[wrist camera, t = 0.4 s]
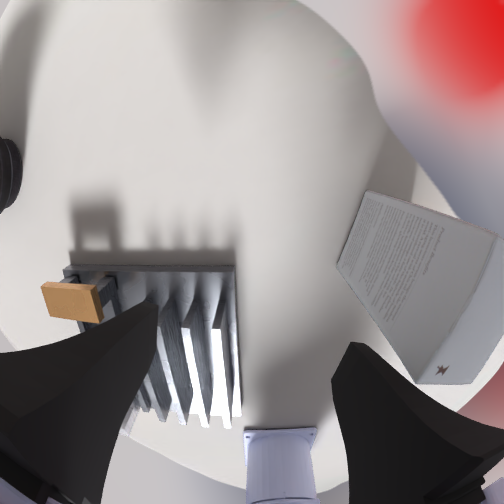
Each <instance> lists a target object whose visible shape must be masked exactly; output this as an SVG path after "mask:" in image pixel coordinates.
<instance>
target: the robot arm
mask: <svg viewBox="0 0 504 504" xmlns="http://www.w3.org/2000/svg"><path fill="white" fill-rule="evenodd" d="M158 310H159V305H156V304H152V303H148V302H144V301H143V302H141V303H139V304H137V305H135V306H133V307H131V308H130V309H128V310H126V311H124V312H122V313H121V314H119V315H117V316H115V317H113V318H111V319H109V320H108V321H106V322H104V323H102V324H100V325H97V326H95V327H93V328H91V329H89V330H87V331H85V332H83V333H80V334H78V335H75V336H73V337H70V338H67V339H64V340H62V341H59V342H56V343H52V344H48V345H44V346H40V347H36V348H32V349H27V350H22V351H15V352H7V353H0V504H101V498H102V493H103V487H104V483H105V479H106V475H107V471H108V467H109V463H110V459H111V456H112V453H113V449H114V446H115V443H116V440H117V437H118V434H119V431H120V428H121V425H122V423H123V420H124V418H125V416H126V414H127V412H128V410H129V408H130V406H131V404H132V402H133V400H134V398H135V396H136V394H137V392H138V390H139V388H140V386H141V384H142V382H143V381H144V379H145V377H146V375H147V373H148V371H149V368H150V366H151V363H152V360H153V357H154V355H155V352H156V349H157V327H158ZM331 383H332V394H333V401H334V405H335V409H336V413H337V417H338V421H339V425H340V429H341V433H342V436H343V440H344V444H345V449H346V454H347V463H348V473H349V504H504V478H503V477H501V478H500V479H498V480H497V481H495V482H494V483H492V484H491V485H489V486H488V487H486V488H485V489H484V490H482V488H481V485H483V484H484V483H485V479H484V478H483V476H484V475H485V474H486V473H487V472H488V471H489V470H491V469H492V468H493V467H494V466H495V465H496V464H497V463H498V462H499V461H501V459H503V457H504V429H500V428H496V427H492V426H488V425H485V424H481V423H479V422H476V421H474V420H471V419H469V418H467V417H464V416H462V415H460V414H458V413H456V412H454V411H452V410H450V409H448V408H447V407H445V406H443V405H441V404H440V403H438V402H437V401H435V400H434V399H432V398H431V397H429V396H428V395H426V394H425V393H423V392H422V391H421V390H420V389H418V388H417V387H416V386H414V385H413V384H412V383H411V382H409V381H408V380H407V379H406V378H405V377H403V376H402V375H401V374H400V373H399V372H398V371H396V370H395V369H394V368H393V367H392V366H391V365H390V364H389V363H387V362H386V361H385V360H384V359H383V358H382V357H381V356H379V355H378V354H377V353H376V352H375V351H374V350H372V349H371V348H370V347H369V346H367V345H366V344H364V343H357V342H350V344H349V346H348V348H347V350H346V352H345V354H344V356H343V358H342V360H341V362H340V364H339V366H338V368H337V370H336V372H335V373H334V375H333V377H332V379H331ZM316 432H317V430H316V428H314V427H311V428H298V429H281V430H245V431H244V432H243V439H244V452H245V464H246V466H247V485H246V504H320V499H317V496H316V488H315V480H314V473H313V466H312V459H311V453H310V452H311V448H312V445H313V442H314V439H315V435H316Z"/></svg>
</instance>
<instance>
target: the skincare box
mask: <svg viewBox="0 0 504 504" xmlns="http://www.w3.org/2000/svg"><path fill="white" fill-rule="evenodd" d="M336 268H337V270H338V271H339V272H340V274H341V275H342V276H343V278H344V279H345V280H346V282H347V283H348V284H349V286H350V287H351V289H352V290H353V291H354V293H355V294H356V295H357V297H358V298H359V300H360V301H361V303H362V304H363V305H364V307H365V308H366V310H367V311H368V312H369V314H370V315H371V317H372V318H373V320H374V321H375V322H376V324H377V325H378V327H379V328H380V330H381V331H382V333H383V334H384V336H385V337H386V339H387V340H388V342H389V343H390V345H391V346H392V348H393V349H394V351H395V352H396V354H397V355H398V357H399V358H400V360H401V361H402V363H403V365H404V366H405V368H406V369H407V371H408V373H409V374H410V376H411V378H412V379H413V381H414V382H415V384H442V385H463V384H471V383H472V382H473V381H474V379H475V378H476V377H477V375H478V374H479V372H480V371H481V369H482V368H483V366H484V365H485V363H486V362H487V360H488V359H489V357H490V355H491V354H492V352H493V351H494V349H495V347H496V346H497V344H498V342H499V341H500V339H501V337H502V336H503V334H504V239H503V238H502V237H501V236H499V235H498V234H497V233H495V232H492V231H490V230H487V229H485V228H482V227H479V226H476V225H474V224H471V223H468V222H466V221H463V220H460V219H457V218H455V217H452V216H449V215H446V214H443V213H440V212H437V211H434V210H431V209H429V208H426V207H423V206H420V205H417V204H413V203H410V202H407V201H404V200H401V199H397V198H394V197H391V196H387V195H384V194H380V193H377V192H373V191H369V190H367V191H366V192H365V195H364V198H363V200H362V203H361V206H360V209H359V211H358V214H357V217H356V219H355V222H354V224H353V227H352V230H351V232H350V235H349V237H348V240H347V242H346V245H345V247H344V250H343V252H342V255H341V257H340V259H339V261H338V264H337V266H336Z"/></svg>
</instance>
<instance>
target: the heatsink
mask: <svg viewBox="0 0 504 504" xmlns="http://www.w3.org/2000/svg"><path fill="white" fill-rule="evenodd" d="M63 274H64V279H63V280H62V281H60V282H59V283H57V282H46V283H44V284H43V285H42V286H41V289H42V293H43V296H44V299H45V302H46V306H47V309H48V312H49V314H50V316H52V317H58V318H64V319H70V320H77V323H78V326H79V329H80V332H81V333H83V332H85V331H87V330H89V329H91V328H93V327H95V326H97V325H100V324H102V323H104V322H106V321H108V320H109V319H111V318H113V317H115V316H117V315H119V314H121V313H122V312H124V311H126V310H128V309H130V308H131V307H133V306H135V305H137V304H139V303H141V302H143V301H144V302H148V303H152V304H156V305H159V310H158V327H157V349H156V352H155V355H154V357H153V360H152V363H151V366H150V368H149V371H148V373H147V375H146V377H145V379H144V381H143V382H142V384H141V386H140V388H139V390H138V392H137V394H136V396H137V398H138V401H139V403H140V405H141V408H142V410H143V412H149V411H150V408H153V409H155V411H156V413H157V416H158V418H159V421H161V422H166V419H167V416H168V412H169V411H175V412H177V415H178V418H179V421H180V424H183V425H187V420H188V416H189V413H194V414H199V416H200V420H201V424H202V426H203V427H208V426H209V420H210V415H222V416H223V421H224V428H231V421H232V416H241V412H242V403H241V387H240V370H239V353H238V333H237V313H236V291H235V266H142V265H69V266H67V267H66V268H65V269H63Z"/></svg>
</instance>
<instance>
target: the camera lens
mask: <svg viewBox="0 0 504 504" xmlns="http://www.w3.org/2000/svg"><path fill="white" fill-rule="evenodd" d="M21 178H22V164H21V157H20V154H19V151H18V148H17V147H16V145H15V144H14V142H13V141H11V140H9V139H2V138H1V137H0V214H1V213H2V211H3V210H4V209H5V208H7V207H9V206H11V205H12V204H13V203H14V201H15V200H16V198H17V195H18V192H19V189H20V185H21Z"/></svg>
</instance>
